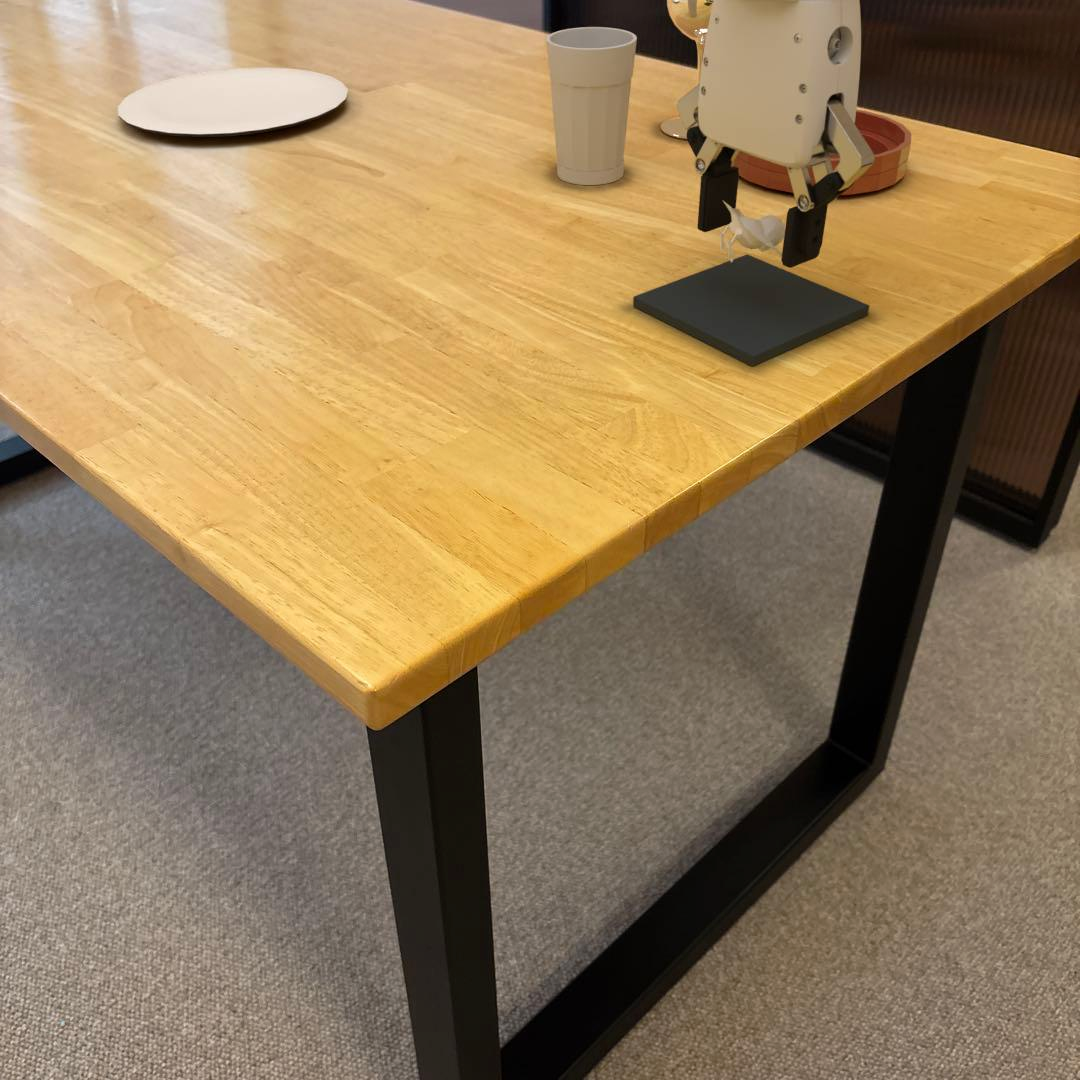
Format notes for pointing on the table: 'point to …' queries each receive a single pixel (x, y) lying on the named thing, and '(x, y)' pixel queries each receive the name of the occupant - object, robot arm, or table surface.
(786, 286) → the coaster
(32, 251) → the table surface
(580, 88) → the cup
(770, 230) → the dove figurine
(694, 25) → the wineglass
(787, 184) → the bowl
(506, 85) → the table surface
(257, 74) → the plate
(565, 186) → the table surface
